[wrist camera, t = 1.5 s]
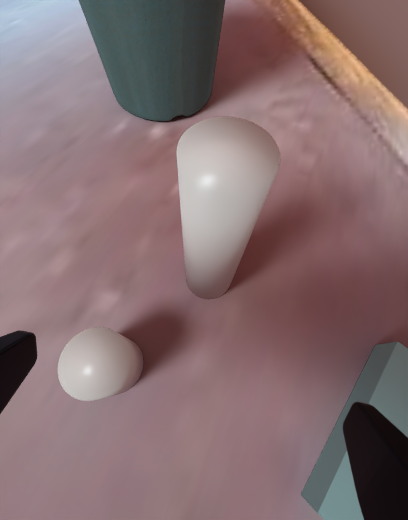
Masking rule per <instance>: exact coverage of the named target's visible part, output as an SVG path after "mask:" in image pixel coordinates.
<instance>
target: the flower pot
mask: <svg viewBox="0 0 408 520" xmlns="http://www.w3.org/2000/svg"><path fill="white" fill-rule="evenodd" d="M79 2H80V5H81V8H82V10H83V13H84V15H85V18H86V21H87V23H88V26H89V29H90V31H91V34H92V37H93V39H94V42H95V44H96V47H97V50H98V53H99V55H100V58H101V61H102V63H103V66H104V69H105V71H106V74H107V77H108V79H109V82H110V85H111V87H112V90H113V93H114V95H115V97H116V99H117V101H118V103H119V104H120V105H121V106H122V107H123V108H124V109H125V110H126V111H128V112H130V113H131V114H133V115H135V116H138V117H141V118H144V119H149V120H155V121H170V120H172V119H173V118H174V117H176V116H180V115H184V116H186V117H187V116H190V115H192V114H194V113H196V112H197V111H199V110H200V109H201V108H202V107H203V106H204V105H205V104H206V103H207V101H208V100H209V98H210V96H211V92H212V86H213V80H214V73H215V66H216V59H217V53H218V46H219V39H220V32H221V25H222V18H223V12H224V5H225V0H79Z"/></svg>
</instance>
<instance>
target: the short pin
mask: <svg viewBox="0 0 408 520" xmlns="http://www.w3.org/2000/svg"><path fill="white" fill-rule="evenodd" d="M142 369H143V356H142V353H141V350H140V348H139V347H138V346H137V345H136V344H135V343H134V342H133V341H131V340H129V339H128V338H126V337H124V336H122V335H120V334H119V333H117V332H115V331H113V330H111V329H109V328H105V327H94V328H89V329H86V330H84V331H82V332H80V333H78V334H77V335H75V336H74V337H73V338H72V339H71V340H70V341H69V342H68V343H67V345H66V346H65V348H64V349H63V351H62V353H61V356H60V359H59V363H58V377H59V381H60V383H61V386H62V387H63V389H64V390H65V391H66V392H67V393H68V394H69V395H70V396H72V397H73V398H76V399H78V400H83V401H92V400H97V399H101V398H105V397H109V396H113V395H117V394H120V393H123V392H125V391H127V390H129V389H130V388H131V387H133V386H134V384H135V383H136V382H137V381H138V379H139V377H140V375H141V373H142Z"/></svg>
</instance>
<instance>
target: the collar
mask: <svg viewBox="0 0 408 520" xmlns="http://www.w3.org/2000/svg"><path fill="white" fill-rule="evenodd" d="M354 402H362V403H367V404H370V405H372V406H374V407H375V408H376V409H377V410H378V411H379V412H380V413H382V414H383V415H384V416H385V417H386V418H387V419H388V420H389V421H390V422H391V423H392V424H394V425H395V426H396V427H397V428H398V429H399V430H400V431H401V432H402V433H403V434H404V435H406V436H407V437H408V348H406V347H405V346H404V345H402V344H401V343H399V342H398V341H396V342H390V343H384V344H378V345H375V346H374V348H373V350H372V353H371V355H370V357H369V359H368V361H367V363H366V365H365V367H364V369H363V371H362V373H361V375H360V377H359V379H358V381H357V383H356V385H355V387H354V389H353V391H352V393H351V395H350V397H349V399H348V401H347V403H346V405H345V407H344V409H343V411H342V413H341V415H340V417H339V419H338V421H337V423H336V425H335V427H334V429H333V431H332V433H331V435H330V437H329V439H328V441H327V443H326V445H325V447H324V449H323V451H322V453H321V455H320V457H319V459H318V461H317V463H316V465H315V467H314V469H313V471H312V473H311V475H310V477H309V479H308V481H307V483H306V485H305V487H304V489H303V491H302V493H301V495H302V496H303V498H304V499H305V500H306V501H307V502H308V503H309V504H310V505H311V506H312V508H313V509H314V510H315V511H316V512H317V513H318V514H319V515H320V516H321V517H322V518H323V519H324V520H364V518H363V515H362V512H361V508H360V505H359V501H358V497H357V493H356V489H355V485H354V480H353V476H352V471H351V466H350V462H349V457H348V453H347V448H346V443H345V439H344V434H343V422H344V420H345V418H346V416H347V414H348V412H349V410H350V408H351V406H352V404H353V403H354Z"/></svg>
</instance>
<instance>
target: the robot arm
mask: <svg viewBox="0 0 408 520" xmlns="http://www.w3.org/2000/svg"><path fill="white" fill-rule="evenodd" d="M36 360H37V346H36V336H35V335H34V334H33V333H31V332H26V331H16V332H13V333H10V334H7V335H4V336H2V337H0V414H1V412H2V411H3V409H4V408H5V407H6V405H7V404H8V402H9V401H10V399H11V398H12V396H13V395H14V394H15V392H16V391H17V389H18V388H19V386H20V385H21V383H22V382H23V380H24V379H25V378H26V376H27V375H28V373H29V372H30V370H31V369H32V367H33V366H34V364H35V362H36ZM343 434H344V439H345V443H346V448H347V453H348V457H349V462H350V466H351V471H352V476H353V480H354V485H355V489H356V493H357V497H358V501H359V505H360V508H361V512H362V515H363V518H364V520H408V437H407V436H406V435H404V434H403V433H402V432H401V431H400V430H399V429H398V428H397V427H396V426H395V425H394V424H392V423H391V422H390V421H389V420H388V419H387V418H386V417H385V416H384V415H383V414H382V413H380V412H379V411H378V410H377V409H376V408H375V407H374V406H372V405H370V404H367V403H362V402H354V403H353V404H352V406H351V408H350V410H349V412H348V414H347V416H346V418H345V420H344V422H343Z"/></svg>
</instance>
